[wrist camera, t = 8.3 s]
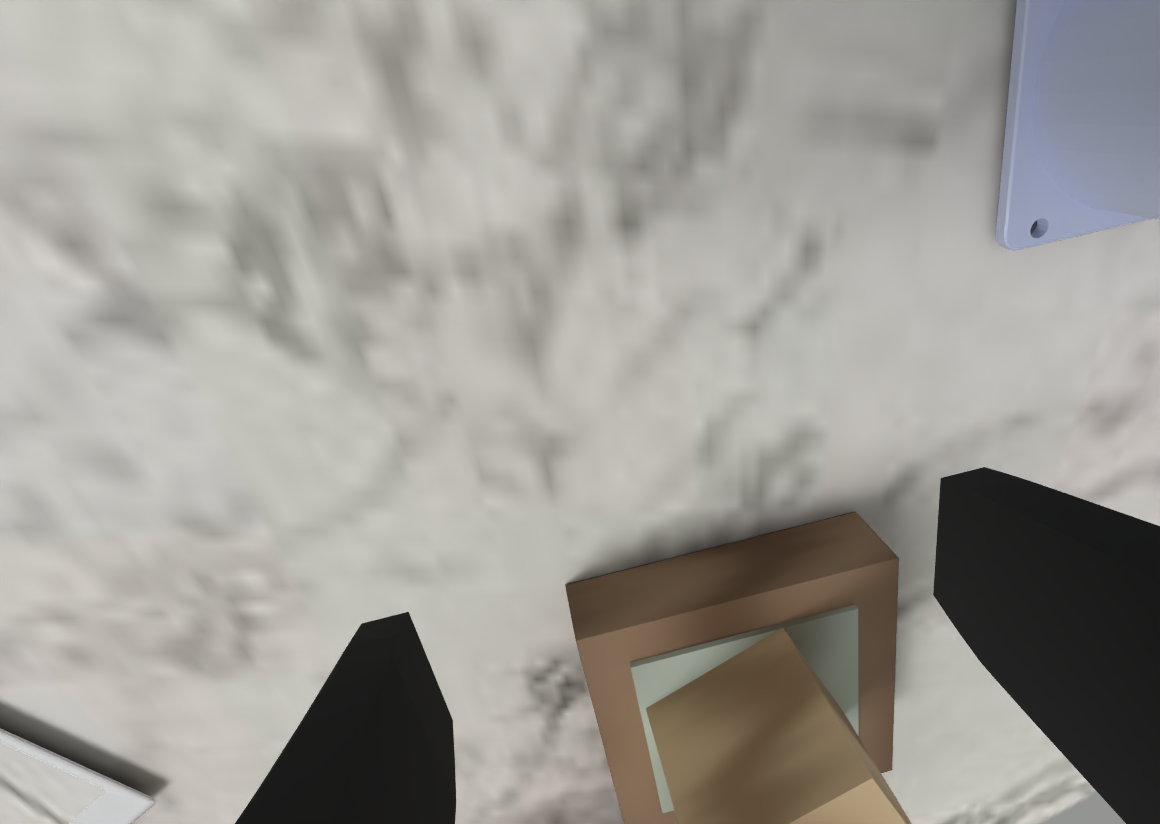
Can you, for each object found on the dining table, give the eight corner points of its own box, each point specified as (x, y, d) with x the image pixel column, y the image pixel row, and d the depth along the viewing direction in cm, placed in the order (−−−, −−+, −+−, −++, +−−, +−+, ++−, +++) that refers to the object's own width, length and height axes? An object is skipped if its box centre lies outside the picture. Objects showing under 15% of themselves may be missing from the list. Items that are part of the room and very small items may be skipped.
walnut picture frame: (855, 511, 22) (902, 562, 20) (856, 713, 26) (895, 775, 24) (565, 585, 22) (576, 645, 19) (615, 778, 26) (630, 847, 24)
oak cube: (783, 627, 20) (872, 777, 16) (844, 714, 22) (938, 868, 18) (645, 708, 21) (693, 876, 16) (718, 785, 23) (778, 951, 18)
